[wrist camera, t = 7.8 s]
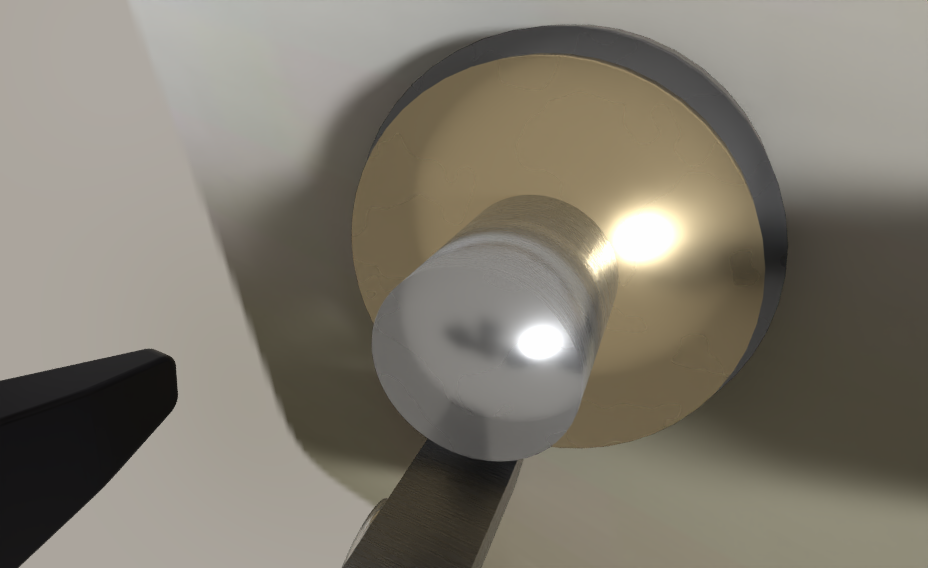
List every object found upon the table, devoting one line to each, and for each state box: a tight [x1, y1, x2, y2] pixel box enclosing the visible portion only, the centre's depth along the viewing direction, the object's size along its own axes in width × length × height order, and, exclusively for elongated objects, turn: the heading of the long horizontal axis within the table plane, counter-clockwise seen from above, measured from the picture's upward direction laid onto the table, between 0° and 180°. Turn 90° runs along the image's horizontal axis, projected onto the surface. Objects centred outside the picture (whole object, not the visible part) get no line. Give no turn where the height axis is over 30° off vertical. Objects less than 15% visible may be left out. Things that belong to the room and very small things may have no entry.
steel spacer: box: [372, 195, 618, 461], centre depth 14 cm, size 4×4×5 cm
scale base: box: [342, 25, 788, 568], centre depth 16 cm, size 12×17×9 cm
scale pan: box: [351, 53, 765, 448], centre depth 16 cm, size 11×11×1 cm
